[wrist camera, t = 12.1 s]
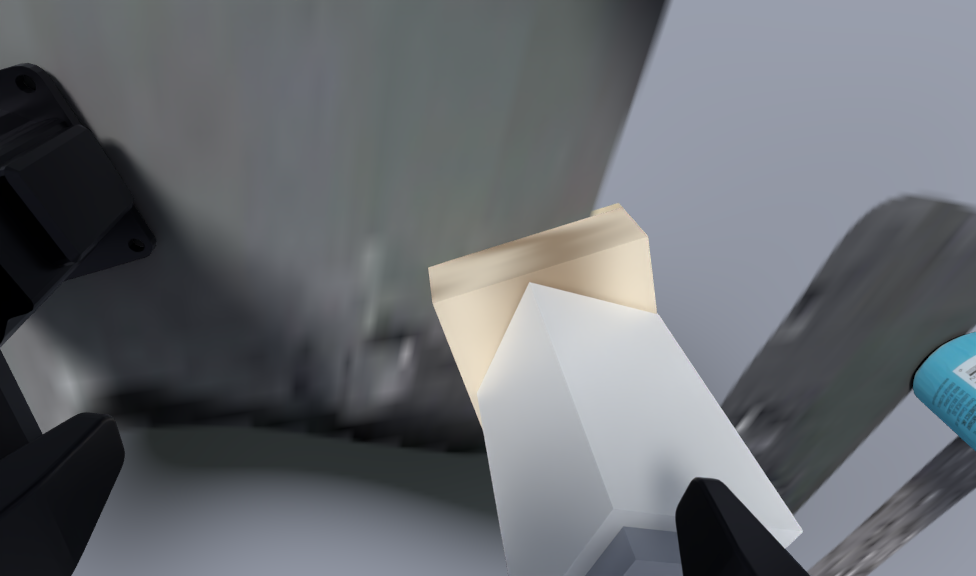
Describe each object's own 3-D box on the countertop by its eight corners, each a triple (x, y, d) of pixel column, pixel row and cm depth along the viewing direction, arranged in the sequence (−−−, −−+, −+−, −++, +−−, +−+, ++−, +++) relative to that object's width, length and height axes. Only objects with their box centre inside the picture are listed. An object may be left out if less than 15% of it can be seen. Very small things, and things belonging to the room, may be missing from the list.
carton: (476, 393, 22) (524, 670, 14) (529, 282, 20) (625, 542, 11) (595, 414, 24) (700, 673, 16) (658, 314, 21) (824, 562, 13)
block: (479, 399, 27) (489, 447, 24) (427, 262, 22) (432, 303, 20) (639, 350, 27) (666, 393, 24) (618, 202, 22) (648, 236, 20)
